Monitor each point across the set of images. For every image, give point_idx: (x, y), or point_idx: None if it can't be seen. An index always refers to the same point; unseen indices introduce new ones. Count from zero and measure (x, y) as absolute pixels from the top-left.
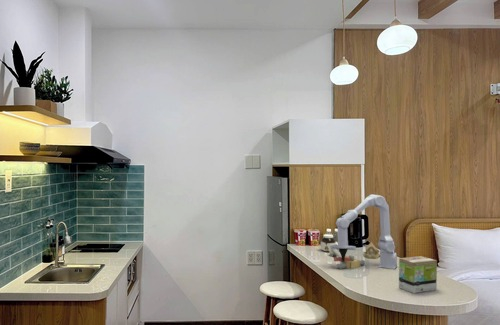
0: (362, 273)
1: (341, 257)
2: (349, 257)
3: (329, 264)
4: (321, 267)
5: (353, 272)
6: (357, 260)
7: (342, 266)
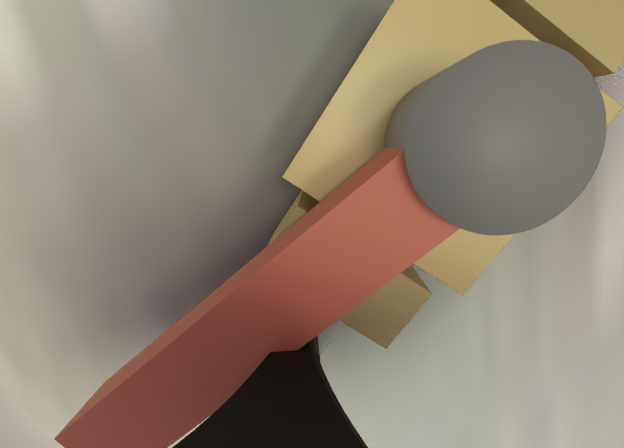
0: (589, 415)
1: (222, 344)
2: (440, 234)
3: (35, 152)
4: (24, 373)
5: (471, 419)
6: (606, 48)
7: None
